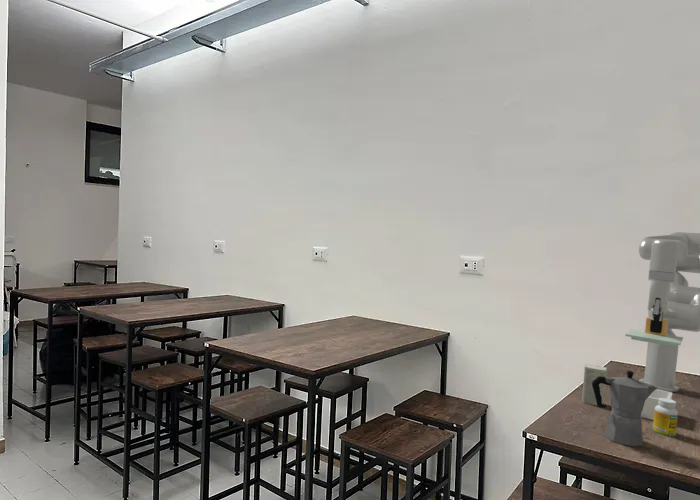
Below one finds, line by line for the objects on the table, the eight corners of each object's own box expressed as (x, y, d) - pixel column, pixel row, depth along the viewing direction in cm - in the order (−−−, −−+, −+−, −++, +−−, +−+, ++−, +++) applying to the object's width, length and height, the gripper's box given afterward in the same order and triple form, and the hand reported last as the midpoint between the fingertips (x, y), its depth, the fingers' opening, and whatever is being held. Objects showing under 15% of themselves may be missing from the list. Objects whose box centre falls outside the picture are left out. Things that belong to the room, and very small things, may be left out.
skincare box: (604, 406, 156) (608, 367, 156) (603, 410, 152) (607, 370, 152) (582, 401, 159) (586, 363, 159) (580, 404, 155) (584, 366, 155)
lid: (630, 333, 173) (632, 314, 172) (682, 342, 164) (684, 322, 164) (624, 338, 162) (626, 318, 162) (679, 348, 153) (682, 327, 153)
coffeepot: (644, 436, 133) (651, 369, 132) (658, 451, 124) (666, 379, 123) (582, 427, 136) (589, 362, 136) (591, 440, 127) (598, 371, 126)
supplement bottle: (658, 429, 139) (661, 395, 139) (679, 437, 135) (683, 402, 134) (648, 432, 136) (652, 398, 136) (669, 440, 132) (673, 404, 131)
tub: (618, 402, 160) (620, 381, 160) (670, 415, 152) (672, 392, 152) (612, 412, 151) (614, 389, 151) (666, 425, 142) (669, 401, 142)
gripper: (651, 274, 174) (645, 326, 175) (645, 276, 161) (639, 332, 162) (676, 277, 170) (671, 330, 171) (673, 279, 157) (667, 337, 158)
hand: (656, 331), depth 167 cm, fingers closed on lid, 3 cm apart
